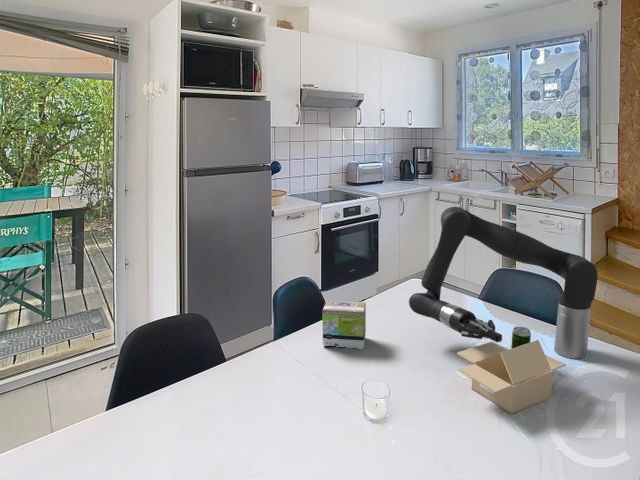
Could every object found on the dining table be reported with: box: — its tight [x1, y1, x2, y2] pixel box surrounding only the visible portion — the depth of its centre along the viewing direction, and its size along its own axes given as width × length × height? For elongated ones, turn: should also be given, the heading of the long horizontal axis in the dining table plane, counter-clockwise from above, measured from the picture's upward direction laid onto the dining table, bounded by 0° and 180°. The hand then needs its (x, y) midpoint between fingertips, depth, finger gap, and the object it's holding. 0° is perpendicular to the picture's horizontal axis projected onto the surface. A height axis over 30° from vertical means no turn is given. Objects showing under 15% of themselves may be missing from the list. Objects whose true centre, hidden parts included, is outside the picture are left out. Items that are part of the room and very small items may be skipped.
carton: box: [456, 341, 567, 415], centre depth 127 cm, size 28×21×8 cm
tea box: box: [321, 299, 367, 350], centre depth 158 cm, size 15×10×15 cm, turn 81°
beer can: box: [510, 326, 532, 349], centre depth 139 cm, size 5×5×12 cm
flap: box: [500, 339, 551, 385], centre depth 119 cm, size 15×1×8 cm, turn 116°
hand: (500, 338), depth 126 cm, fingers closed
